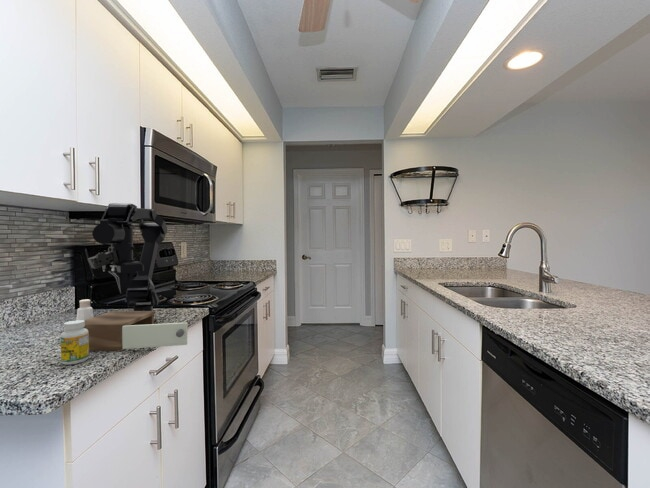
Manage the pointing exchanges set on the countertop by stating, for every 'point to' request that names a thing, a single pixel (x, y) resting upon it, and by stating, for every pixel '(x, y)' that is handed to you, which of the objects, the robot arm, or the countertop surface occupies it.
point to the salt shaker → (84, 310)
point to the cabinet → (113, 328)
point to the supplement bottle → (74, 343)
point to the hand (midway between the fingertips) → (122, 293)
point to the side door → (154, 335)
